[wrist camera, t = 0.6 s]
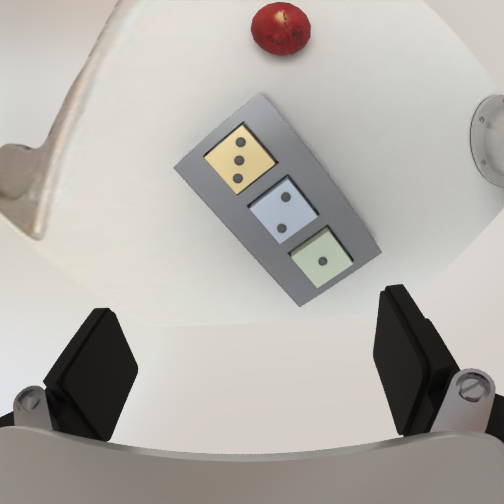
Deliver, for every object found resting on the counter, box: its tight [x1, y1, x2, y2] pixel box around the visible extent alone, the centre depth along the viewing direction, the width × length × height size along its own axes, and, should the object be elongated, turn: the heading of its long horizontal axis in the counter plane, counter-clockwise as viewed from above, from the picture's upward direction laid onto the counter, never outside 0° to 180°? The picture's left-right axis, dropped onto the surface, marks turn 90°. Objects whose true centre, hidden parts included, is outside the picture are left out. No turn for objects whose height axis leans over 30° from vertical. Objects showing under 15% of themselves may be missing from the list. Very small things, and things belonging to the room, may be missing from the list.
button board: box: [173, 92, 382, 307], centre depth 35 cm, size 12×22×4 cm, turn 40°
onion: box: [251, 2, 311, 55], centre depth 25 cm, size 6×6×8 cm
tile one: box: [291, 225, 353, 288], centre depth 35 cm, size 5×5×2 cm
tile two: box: [250, 176, 318, 244], centre depth 33 cm, size 5×5×2 cm
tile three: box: [204, 125, 275, 194], centre depth 31 cm, size 5×5×2 cm
